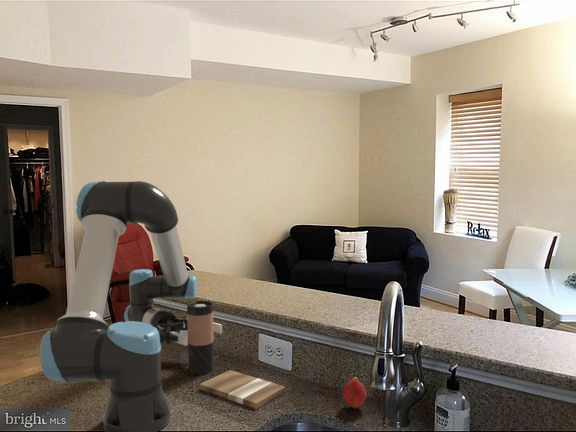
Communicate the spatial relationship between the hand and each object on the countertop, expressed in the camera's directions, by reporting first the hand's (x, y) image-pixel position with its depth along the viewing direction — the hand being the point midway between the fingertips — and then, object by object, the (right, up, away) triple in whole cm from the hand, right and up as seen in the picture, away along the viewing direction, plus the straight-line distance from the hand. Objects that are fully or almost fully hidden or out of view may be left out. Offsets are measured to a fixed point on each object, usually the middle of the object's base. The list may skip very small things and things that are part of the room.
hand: (204, 334), depth 150 cm
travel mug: (-1, -11, +2) cm, 11 cm away
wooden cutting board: (+12, -12, -13) cm, 22 cm away
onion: (+41, -13, -24) cm, 49 cm away
